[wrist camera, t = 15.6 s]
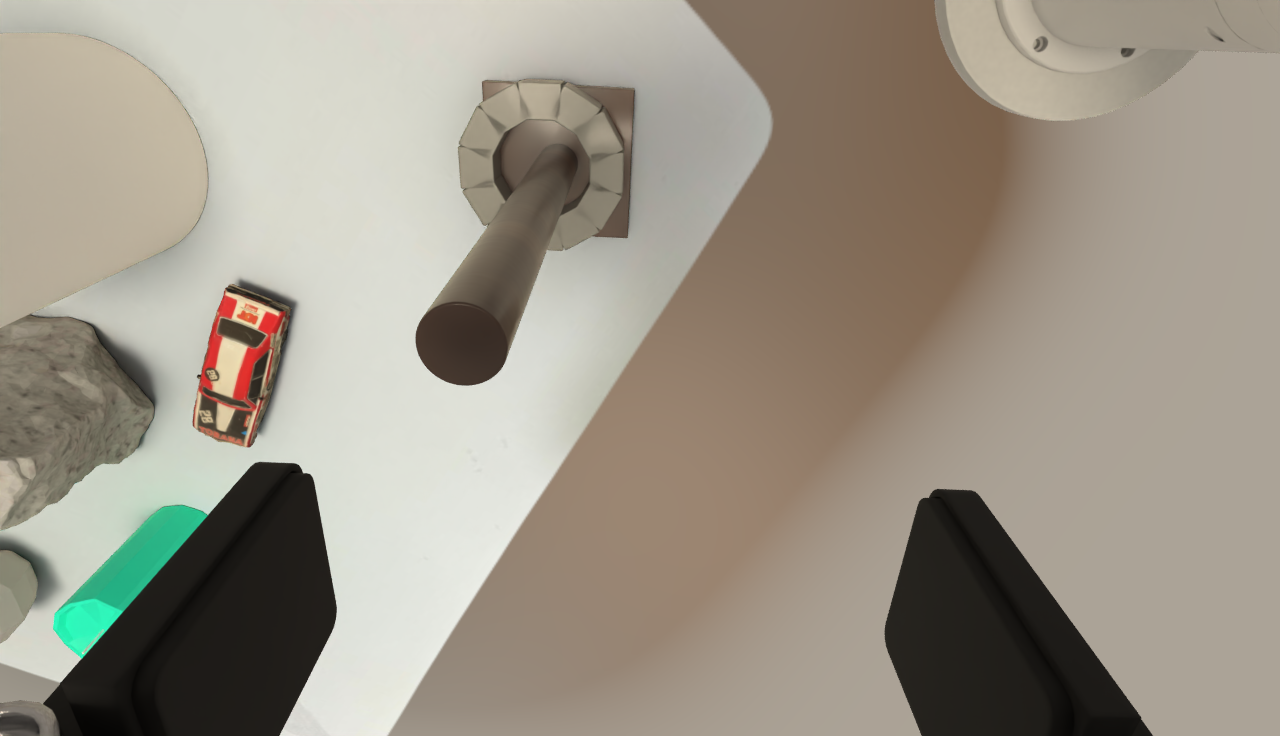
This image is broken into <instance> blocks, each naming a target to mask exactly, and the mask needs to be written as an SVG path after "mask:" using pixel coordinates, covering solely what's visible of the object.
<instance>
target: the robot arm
mask: <svg viewBox="0 0 1280 736" xmlns="http://www.w3.org/2000/svg"><path fill="white" fill-rule="evenodd" d="M995 1H996V6H997V10H998V14H999V18H1000V22H1001V24H1002V26H1003V28H1004V30H1005V32H1006V34H1007V36H1008V38H1009V40H1010V41H1011V42H1012V43H1013V44H1014V46H1015V47H1016V48H1017V49H1018V50H1019V52H1020V53H1021V54H1023V55H1024V56H1025V57H1027V58H1028V59H1029V60H1031V61H1032V62H1033V63H1035V64H1037V65H1040V66H1042V67H1045V68H1047V69H1049V70H1053V71H1059V72H1065V73H1080V74H1087V73H1094V72H1101V71H1106V70H1109V69H1112V68H1115V67H1118V66H1121V65H1124V64H1126V63H1128V62H1130V61H1131V60H1133V59H1135V58H1137V57H1139V56H1141V55H1143V54H1144V53H1146V52H1147V51H1148V50H1150V49H1170V50H1199V51H1200V50H1201V51H1229V52H1258V53H1280V0H995ZM1035 40H1036V41H1037V44H1036V46H1035V47H1034V48H1033V45H1034V42H1035ZM1121 48H1122V51H1121ZM336 613H337V607H336V600H335V594H334V589H333V583H332V578H331V572H330V567H329V561H328V556H327V550H326V545H325V539H324V534H323V528H322V523H321V517H320V512H319V506H318V501H317V495H316V490H315V485H314V480H313V477H312V476H311V475H310V474H307V473H303V472H302V469H301V468H300V466H299V465H297V464H295V463H271V462H258V463H255V464H254V465H252V466H251V467H250V468H249V469H248V470H247V472H246V473H245V474H244V475H243V476H242V477H241V478H240V480H239V481H238V482H237V483H236V484H235V485H234V486H233V487H232V489H231V490H230V491H229V492H228V493H227V494H226V495H225V497H224V498H223V499H222V500H221V501H220V502H219V503H218V505H217V506H216V507H215V508H214V509H213V510H212V511H211V512H210V514H209V515H208V516H207V517H206V518H205V519H204V520H203V522H202V523H201V524H200V525H199V526H198V527H197V528H196V530H195V531H194V532H193V533H192V534H191V535H190V536H189V537H188V539H187V540H186V541H185V542H184V543H183V544H182V545H181V547H180V548H179V549H178V550H177V551H176V552H175V553H174V555H173V556H172V557H171V558H170V559H169V560H168V561H167V562H166V564H165V565H164V566H163V567H162V568H161V569H160V570H159V572H158V573H157V574H156V575H155V576H154V577H153V578H152V580H151V581H150V582H149V583H148V584H147V585H146V586H145V587H144V589H143V590H142V591H141V592H140V593H139V594H138V595H137V597H136V598H135V599H134V600H133V601H132V602H131V603H130V605H129V606H128V607H127V608H126V609H125V610H124V611H123V612H122V614H121V615H120V616H119V617H118V618H117V619H116V620H115V622H114V623H113V624H112V625H111V626H110V627H109V628H108V630H107V631H106V632H105V633H104V634H103V635H102V636H101V637H100V639H99V640H98V641H97V642H96V643H95V644H94V645H93V647H92V648H91V649H90V650H89V651H88V652H87V653H86V655H85V656H84V657H83V658H82V659H81V660H80V661H79V663H78V664H77V665H76V666H75V667H74V668H73V669H72V670H71V672H70V673H69V674H68V675H67V676H66V677H65V678H64V680H63V681H62V682H61V683H60V685H59V686H58V687H57V689H56V690H55V691H54V692H53V693H52V694H51V695H50V697H49V698H48V699H47V700H46V701H45V702H44V703H43V704H41V703H39V702H30V701H13V702H7V703H0V736H279V735H280V733H281V731H282V729H283V727H284V725H285V724H286V722H287V720H288V718H289V716H290V714H291V712H292V710H293V708H294V706H295V704H296V702H297V700H298V698H299V696H300V694H301V692H302V690H303V688H304V686H305V684H306V682H307V680H308V678H309V676H310V674H311V672H312V670H313V668H314V666H315V664H316V662H317V660H318V658H319V656H320V654H321V652H322V650H323V648H324V646H325V644H326V642H327V640H328V638H329V636H330V634H331V633H332V630H333V628H334V624H335V620H336ZM885 642H886V647H887V650H888V653H889V655H890V658H891V660H892V663H893V665H894V668H895V670H896V673H897V675H898V678H899V680H900V683H901V685H902V688H903V690H904V693H905V695H906V698H907V700H908V703H909V705H910V708H911V710H912V713H913V715H914V718H915V720H916V723H917V725H918V728H919V730H920V733H921V735H922V736H1153V735H1152V734H1151V732H1150V731H1149V730H1148V728H1147V727H1146V725H1145V724H1144V723H1143V721H1142V720H1141V717H1140V715H1139V714H1138V712H1137V711H1136V710H1135V708H1134V707H1133V706H1132V704H1131V703H1130V701H1129V700H1128V699H1127V697H1126V696H1125V695H1124V693H1123V692H1122V690H1121V689H1120V688H1119V687H1118V685H1117V684H1116V682H1115V681H1114V680H1113V678H1112V677H1111V675H1110V674H1109V673H1108V671H1107V670H1106V669H1105V667H1104V666H1103V664H1102V663H1101V662H1100V660H1099V659H1098V658H1097V656H1096V655H1095V653H1094V652H1093V651H1092V649H1091V648H1090V647H1089V645H1088V644H1087V643H1086V641H1085V640H1084V638H1083V637H1082V636H1081V634H1080V633H1079V632H1078V630H1077V629H1076V628H1075V626H1074V625H1073V623H1072V622H1071V621H1070V619H1069V618H1068V616H1067V615H1066V614H1065V613H1064V611H1063V610H1062V608H1061V607H1060V606H1059V604H1058V603H1057V601H1056V600H1055V599H1054V597H1053V596H1052V595H1051V593H1050V592H1049V590H1048V589H1047V588H1046V586H1045V585H1044V584H1043V582H1042V581H1041V580H1040V578H1039V577H1038V575H1037V574H1036V573H1035V571H1034V570H1033V569H1032V567H1031V566H1030V564H1029V563H1028V562H1027V560H1026V559H1025V558H1024V556H1023V555H1022V554H1021V552H1020V551H1019V549H1018V548H1017V547H1016V545H1015V544H1014V543H1013V541H1012V540H1011V538H1010V537H1009V536H1008V534H1007V533H1006V532H1005V530H1004V529H1003V528H1002V526H1001V525H1000V523H999V522H998V521H997V519H996V518H995V516H994V515H993V514H992V513H991V511H990V510H989V508H988V507H987V506H986V504H985V503H984V501H983V500H982V499H981V497H980V496H979V495H978V494H977V493H976V492H974V491H971V490H947V489H937V490H934V491H933V492H932V493H931V495H930V497H929V498H923V499H921V500H920V502H919V504H918V507H917V510H916V514H915V518H914V521H913V525H912V529H911V532H910V536H909V540H908V544H907V547H906V551H905V555H904V558H903V562H902V565H901V569H900V573H899V576H898V580H897V584H896V587H895V591H894V595H893V598H892V602H891V606H890V610H889V613H888V617H887V621H886V625H885Z"/></svg>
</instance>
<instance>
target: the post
mask: <svg viewBox="0 0 1280 736" xmlns="http://www.w3.org/2000/svg"><path fill="white" fill-rule="evenodd" d="M513 83H515V82H511V81H493V80H485V81H483V82H482V89H483V101H485V100H486V99H488V98H490V97H491V96H493V95H495V94H496V93H498V92H500V91H501V90H503V89H505V88H506V87H508V86H510V85H512V84H513ZM574 86H575V87H577V88H578V89H580V90H582V91H583V92H585V93H586V94H588V95H589V96H591V97H592V98H594V99H595V100H597V101H598V102H600V103H601V104H602V107H601V108H603V107H605V108H606V110H607V112H608V114H609V116H610V118H611V120H612V122H613V124H614V126H615V127H616V129H617V131H618V133H619V135H620V137H621V139H622V141H623V146H624V178H623V193H622V198H621V199H620V201H619V203H618V204H617V206H616V208H615V209H614V211H613V212H612V214H611V216H610V217H609V219H608V221H607V222H606V224H605V226H604V227H603V229H602V230H599V233H597V234H595V235H593V236H595V237H616V238H628V219H629V197H630V176H631V154H632V132H633V111H634V88H619V87H601V86H583V85H574ZM500 159H501V175H502V177H503V178H504V180H505V181H506V183H507V185H508V186H509V188H510V190H511V191H512V194H511V195H510V197H509V198H508V200H507V201H506V202H505V204H504V205H503V207H502V208H501V209H500V211H499V212H498V213H497V215H496V216H495V218H494V219H493V220H492V222H491V223H490V225H489V226H488V227H487V229H486V230H485V232H484V233H483V234H482V236H481V237H480V238H479V240H478V241H477V243H476V244H475V245H474V247H473V248H472V250H471V251H470V252H469V254H468V255H467V257H466V258H465V259H464V261H463V262H462V263H461V265H460V266H459V268H458V269H457V270H456V272H455V273H454V275H453V276H452V277H451V279H450V280H449V282H448V283H447V284H446V286H445V287H444V288H443V290H442V291H441V293H440V294H439V295H438V297H437V298H436V300H435V301H434V302H433V304H432V305H431V307H430V308H429V309H428V311H427V312H426V313H425V315H424V316H423V318H422V319H421V321H420V323H419V325H418V327H417V331H416V348H417V351H418V354H419V356H420V358H421V360H422V362H423V363H424V365H425V366H426V367H427V369H428V370H429V371H431V372H432V373H433V374H434V375H435V376H437V377H438V378H440V379H442V380H444V381H446V382H449V383H452V384H456V385H476V384H480V383H483V382H485V381H487V380H489V379H491V378H492V377H494V376H495V375H496V374H497V373H498V372H499V371H500V370H501V368H502V367H503V365H504V363H505V361H506V358H507V356H508V353H509V350H510V348H511V345H512V342H513V340H514V337H515V334H516V331H517V329H518V326H519V323H520V321H521V318H522V315H523V313H524V310H525V307H526V305H527V302H528V299H529V297H530V294H531V291H532V289H533V286H534V283H535V281H536V278H537V275H538V273H539V270H540V267H541V265H542V262H543V259H544V257H545V254H546V251H547V249H548V246H549V243H550V241H551V238H552V235H553V233H554V230H555V227H556V225H557V222H558V219H559V217H560V214H561V211H562V208H563V206H565V205H567V204H569V203H571V202H573V201H574V200H576V199H578V198H580V196H581V194H582V193H583V191H584V189H585V187H586V186H587V184H588V182H589V177H590V159H589V157H588V155H587V153H586V152H585V150H584V148H583V146H582V144H581V142H580V141H579V139H578V137H577V135H576V134H574V133H572V132H571V131H569V130H568V129H566V128H565V127H563V126H561V125H560V124H558V123H557V122H555V121H549V120H526V121H524V122H523V123H521V124H519V125H517V126H516V127H514V128H512V129H510V131H509V133H508V135H507V137H506V139H505V141H504V143H503V144H502V146H501V148H500Z"/></svg>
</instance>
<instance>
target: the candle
mask: <svg viewBox="0 0 1280 736" xmlns="http://www.w3.org/2000/svg"><path fill="white" fill-rule="evenodd" d="M206 517H207V515H206V514H205V513H204V512H202V511H199V510H196V509H193V508H190V507H186V506H183V505H178V506H168V507H162V508H161V509H160V510H158V511H157V512H156V513H154V514H153V515H152V516H150V517H149V518H148V519H147V520H146V521H145V522H144V523H143V524H142V525H141V526H140V527H139V528H138V529H137V530H136V531H135V533H134V534H133V535H132V536H131V537H130V538H129V539H128V540H127V541H126V542H125V543H124V544H123V545H122V546H121V547H120V548H119V549H118V550H117V551H116V552H115V553H114V554H113V555H112V556H111V557H110V558H109V559H108V560H107V561H106V562H105V563H104V564H103V565H102V566H101V567H100V568H99V569H98V570H97V571H96V572H95V573H94V574H93V575H92V576H91V577H90V578H89V579H88V580H87V581H86V582H85V583H84V584H83V585H82V586H81V587H80V588H79V589H78V590H77V591H76V592H75V593H74V595H73V596H72V597H71V598H70V599H69V600H68V601H67V602H66V603H65V604H64V605H63V606H62V607H61V608H60V609H59V610H58V611H57V612H56V613H55V616H54V625H53V630H54V631H55V632H56V633H57V635H58V636H59V637H60V639H61V640H62V641H63V642H64V644H65V645H66V646H68V647H69V648H70V649H71V650H72V651H74V652H75V653H76V654H77V655H78V656H80V657H81V658H83V657H84V656H85V655H86V653H87V652H88V651H89V650H90V649H91V648H92V647H93V645H94V644H95V643H96V642H97V641H98V640H99V639H100V637H101V636H102V635H103V634H104V633H105V632H106V631H107V630H108V628H109V627H110V626H111V625H112V624H113V623H114V622H115V620H116V619H117V618H118V617H119V616H120V615H121V614H122V612H123V611H124V610H125V609H126V608H127V607H128V606H129V605H130V603H131V602H132V601H133V600H134V599H135V598H136V597H137V595H138V594H139V593H140V592H141V591H142V590H143V589H144V587H145V586H146V585H147V584H148V583H149V582H150V581H151V580H152V578H153V577H154V576H155V575H156V574H157V573H158V572H159V570H160V569H161V568H162V567H163V566H164V565H165V564H166V562H167V561H168V560H169V559H170V558H171V557H172V556H173V555H174V553H175V552H176V551H177V550H178V549H179V548H180V547H181V545H182V544H183V543H184V542H185V541H186V540H187V539H188V537H189V536H190V535H191V534H192V533H193V532H194V531H195V530H196V528H197V527H198V526H199V525H200V524H201V523H202V522H203V520H204V519H205V518H206Z"/></svg>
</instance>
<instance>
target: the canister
mask: <svg viewBox="0 0 1280 736" xmlns="http://www.w3.org/2000/svg"><path fill="white" fill-rule="evenodd" d="M207 190H208V171H207V163H206V158H205V153H204V150H203V146H202V143H201V140H200V138H199V135H198V133H197V130H196V128H195V126H194V124H193V122H192V120H191V119H190V117H189V115H188V113H187V112H186V110H185V109H184V107H183V106H182V104H181V103H180V101H179V100H178V99H177V97H176V96H175V95H174V94H173V93H172V91H171V90H170V89H169V88H168V87H167V86H166V85H165V84H164V83H163V82H162V81H161V80H160V79H159V78H158V77H157V76H156V75H155V74H154V73H153V72H152V71H150V70H149V69H148V68H147V67H146V66H144V65H143V64H142V63H140V62H139V61H137V60H136V59H134V58H133V57H131V56H130V55H128V54H126V53H125V52H123V51H121V50H119V49H117V48H115V47H113V46H111V45H109V44H106V43H104V42H101V41H98V40H95V39H92V38H89V37H85V36H80V35H75V34H66V33H0V328H1V327H4V326H6V325H8V324H10V323H12V322H14V321H16V320H18V319H20V318H23V317H25V316H27V315H29V314H31V313H33V312H35V311H37V310H40V309H42V308H44V307H46V306H48V305H50V304H52V303H54V302H56V301H59V300H61V299H63V298H65V297H67V296H69V295H71V294H73V293H76V292H78V291H80V290H82V289H84V288H86V287H88V286H90V285H92V284H95V283H97V282H99V281H101V280H103V279H105V278H107V277H109V276H112V275H114V274H116V273H118V272H120V271H122V270H124V269H126V268H128V267H131V266H133V265H135V264H137V263H139V262H141V261H143V260H145V259H148V258H150V257H152V256H154V255H156V254H158V253H160V252H162V251H164V250H167V249H169V248H171V247H172V246H174V245H176V244H177V243H178V242H180V241H181V240H182V239H183V238H185V237H186V236H187V235H188V234H189V232H190V231H191V230H192V229H193V227H194V226H195V225H196V223H197V221H198V220H199V218H200V216H201V213H202V211H203V208H204V205H205V201H206V197H207Z"/></svg>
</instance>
